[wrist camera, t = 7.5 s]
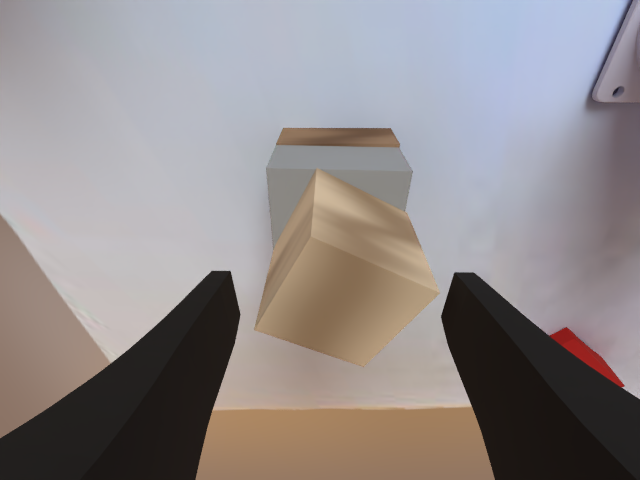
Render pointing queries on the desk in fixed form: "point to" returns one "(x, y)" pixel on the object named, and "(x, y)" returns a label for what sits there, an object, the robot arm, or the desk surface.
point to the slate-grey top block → (341, 162)
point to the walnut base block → (338, 137)
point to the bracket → (585, 354)
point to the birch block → (344, 273)
